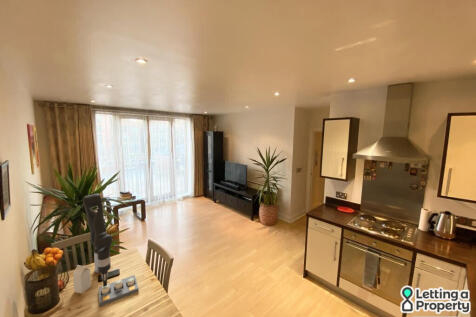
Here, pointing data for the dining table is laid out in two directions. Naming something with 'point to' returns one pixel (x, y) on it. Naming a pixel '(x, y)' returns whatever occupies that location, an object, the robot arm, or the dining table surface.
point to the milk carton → (81, 279)
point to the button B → (118, 284)
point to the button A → (105, 289)
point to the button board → (117, 292)
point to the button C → (130, 282)
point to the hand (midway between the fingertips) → (105, 285)
